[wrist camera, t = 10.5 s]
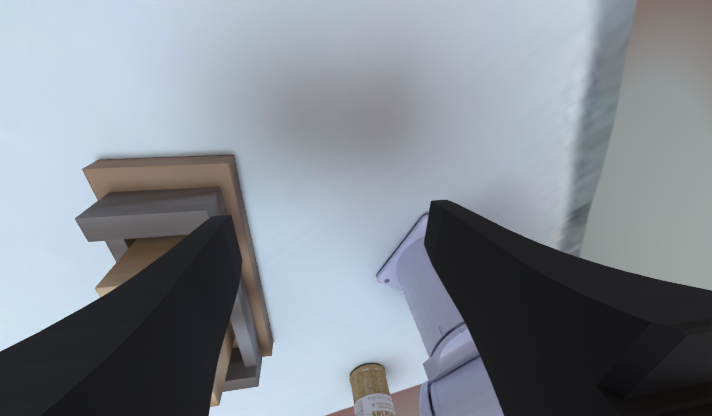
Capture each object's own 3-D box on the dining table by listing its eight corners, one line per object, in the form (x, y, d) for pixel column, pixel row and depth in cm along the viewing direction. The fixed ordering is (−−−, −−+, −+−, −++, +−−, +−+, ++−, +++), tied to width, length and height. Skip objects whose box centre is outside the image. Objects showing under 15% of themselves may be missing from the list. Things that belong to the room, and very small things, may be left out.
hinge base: (98, 159, 17) (40, 192, 14) (233, 154, 19) (215, 184, 15) (189, 352, 28) (171, 402, 24) (273, 341, 29) (268, 387, 25)
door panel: (152, 220, 18) (94, 288, 13) (201, 217, 19) (163, 281, 14) (203, 343, 25) (178, 420, 20) (238, 338, 25) (222, 413, 20)
